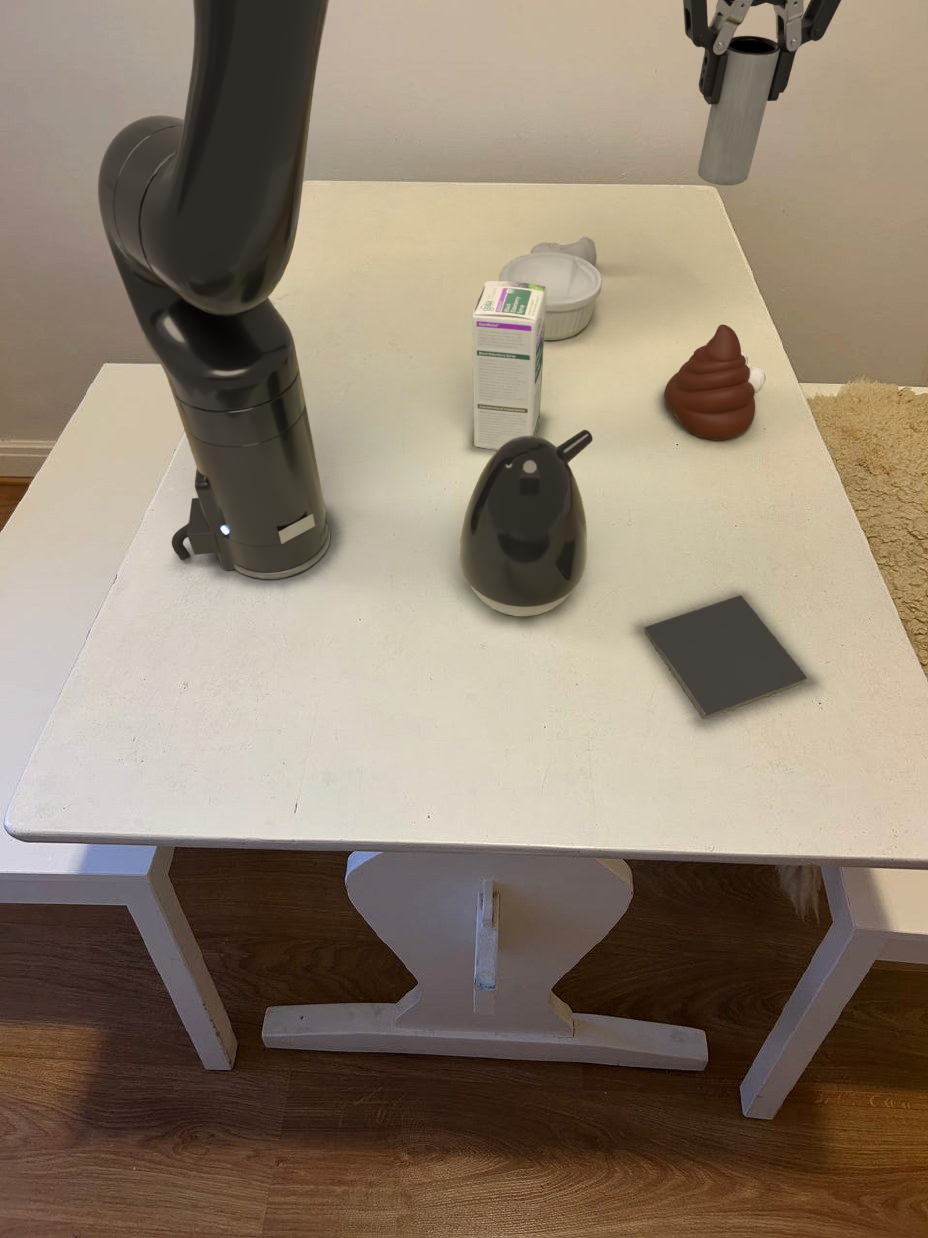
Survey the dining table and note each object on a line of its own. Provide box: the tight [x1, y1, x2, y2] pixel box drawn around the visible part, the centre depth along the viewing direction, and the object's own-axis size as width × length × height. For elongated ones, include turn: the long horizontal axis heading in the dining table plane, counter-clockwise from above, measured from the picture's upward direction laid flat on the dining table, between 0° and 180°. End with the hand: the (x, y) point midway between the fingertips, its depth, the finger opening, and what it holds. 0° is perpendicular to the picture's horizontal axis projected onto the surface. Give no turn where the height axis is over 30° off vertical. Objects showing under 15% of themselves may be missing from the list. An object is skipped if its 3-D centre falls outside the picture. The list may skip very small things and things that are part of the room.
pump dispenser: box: [458, 429, 593, 617], centre depth 64 cm, size 10×10×15 cm
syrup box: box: [471, 280, 547, 451], centre depth 77 cm, size 6×6×14 cm
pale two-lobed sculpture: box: [529, 236, 598, 267], centre depth 101 cm, size 4×8×5 cm
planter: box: [697, 35, 780, 186], centre depth 73 cm, size 4×4×10 cm
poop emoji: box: [663, 324, 766, 441], centre depth 81 cm, size 10×8×9 cm
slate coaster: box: [643, 594, 808, 720], centre depth 65 cm, size 9×9×1 cm
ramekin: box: [498, 252, 603, 341], centre depth 94 cm, size 11×11×5 cm
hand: (739, 98), depth 72 cm, fingers closed on planter, 4 cm apart
